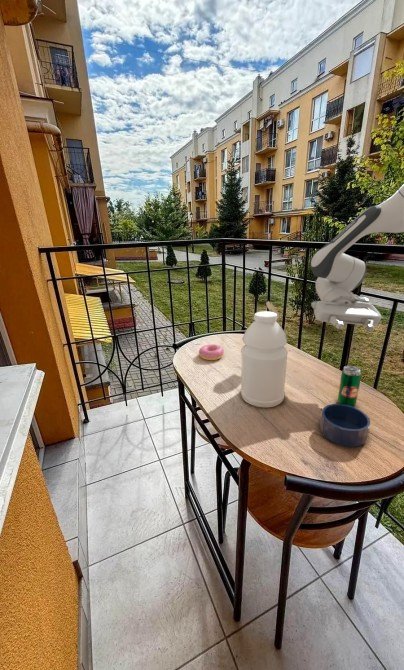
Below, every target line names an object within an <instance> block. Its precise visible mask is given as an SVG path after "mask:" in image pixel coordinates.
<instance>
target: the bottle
mask: <svg viewBox="0 0 404 670" xmlns="http://www.w3.org/2000/svg"><path fill="white" fill-rule="evenodd" d="M253 320H254V321H253V322H251V324H250V325H249V326H248V327H247V328H246V330H245V332H244V333H243V335H242V338H241V339H242V342H243V344H244V345H243V346H242V348H241V349H240V356H241V357H240V359H241V361H240V363H241V365H240V395H241V398H242V399H243V400H244V401H245V402H246V403H247V404H249V405H251V406H253V407H257V408H273V407H276V406H278V405H280V404H281V403H282V402H283V401H284V399H285V393H286V391H285V390H286V389H285V388H286V387H285V386H286V376H287V375H286V374H287V361H288V355H289V354H288V350H287V348H286V347H285V346H286V345H287V344H288V338H287V335H286V332H285V331H284V329H283V327H282V326H281V325H280V324H279V323H278V322H277V321H278V318H277V314H276V313H274V312H270V311H269V310H260V311H257V312H254V314H253Z"/></svg>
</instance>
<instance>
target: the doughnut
mask: <svg viewBox="0 0 404 670" xmlns="http://www.w3.org/2000/svg"><path fill="white" fill-rule="evenodd" d="M224 354H225V350H224V348H223V347H222V346H221V345H218V344H214V343H213V344H205V345H203V346H201V347H200V348H199V349H198V355H199V357H200V358H201V359H203V360H205V361H217V360H219V359H221V358H222V357H223V356H224Z"/></svg>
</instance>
